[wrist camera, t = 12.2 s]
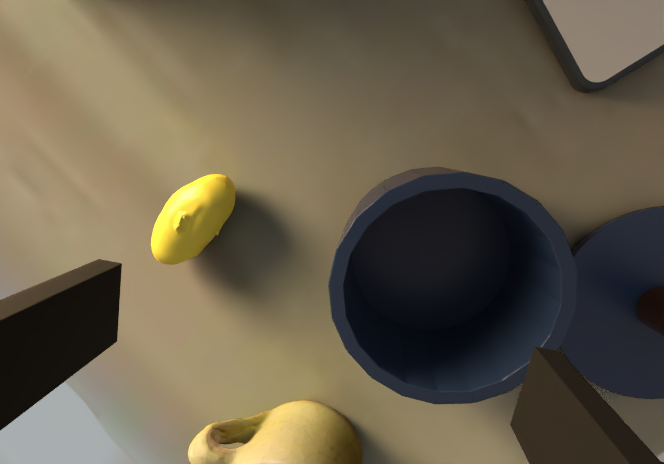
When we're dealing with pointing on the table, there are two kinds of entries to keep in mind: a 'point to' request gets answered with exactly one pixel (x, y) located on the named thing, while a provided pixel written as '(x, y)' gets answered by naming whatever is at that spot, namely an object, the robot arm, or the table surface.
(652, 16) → the phone case
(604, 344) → the lid
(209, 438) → the mug
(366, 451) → the table surface
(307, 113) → the table surface
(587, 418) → the robot arm
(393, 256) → the tin
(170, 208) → the lemon
